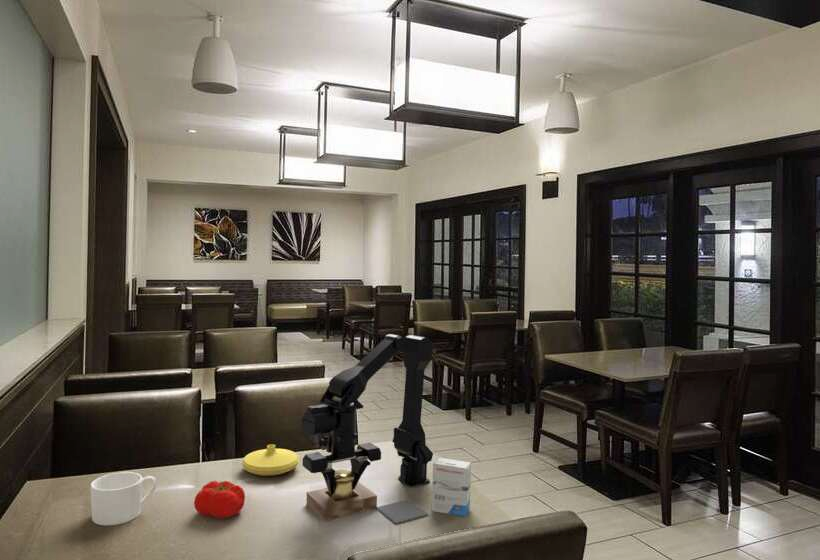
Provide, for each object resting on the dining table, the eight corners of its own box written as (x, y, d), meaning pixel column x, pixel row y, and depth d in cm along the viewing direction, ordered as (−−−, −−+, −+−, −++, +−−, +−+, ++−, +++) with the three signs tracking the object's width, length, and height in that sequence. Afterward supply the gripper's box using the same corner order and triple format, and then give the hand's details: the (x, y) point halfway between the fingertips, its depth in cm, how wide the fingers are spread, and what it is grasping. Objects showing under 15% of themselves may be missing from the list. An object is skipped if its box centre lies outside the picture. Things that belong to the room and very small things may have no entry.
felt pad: (407, 500, 140) (407, 499, 140) (427, 515, 133) (427, 513, 133) (375, 508, 135) (376, 507, 135) (395, 524, 128) (395, 522, 128)
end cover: (346, 498, 140) (347, 468, 140) (358, 508, 135) (359, 476, 135) (324, 504, 137) (325, 472, 136) (335, 513, 132) (336, 481, 132)
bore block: (357, 492, 144) (357, 481, 144) (376, 507, 136) (377, 495, 136) (306, 504, 136) (306, 492, 136) (323, 521, 128) (324, 508, 128)
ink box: (470, 509, 137) (472, 461, 136) (465, 517, 132) (467, 468, 132) (436, 502, 139) (438, 456, 139) (431, 511, 135) (432, 463, 134)
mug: (89, 530, 121) (89, 493, 120) (91, 510, 130) (91, 475, 130) (157, 518, 127) (157, 483, 127) (154, 500, 136) (155, 467, 136)
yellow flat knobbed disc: (255, 458, 166) (256, 434, 166) (306, 462, 164) (307, 438, 163) (231, 479, 150) (231, 453, 150) (287, 484, 148) (288, 458, 148)
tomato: (227, 526, 124) (228, 497, 124) (186, 518, 128) (186, 490, 127) (252, 508, 134) (252, 481, 133) (213, 500, 137) (213, 474, 137)
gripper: (361, 414, 147) (359, 473, 148) (294, 425, 137) (292, 487, 137) (383, 426, 138) (381, 488, 138) (313, 438, 127) (311, 505, 128)
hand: (341, 491), depth 136 cm, fingers closed on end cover, 5 cm apart
